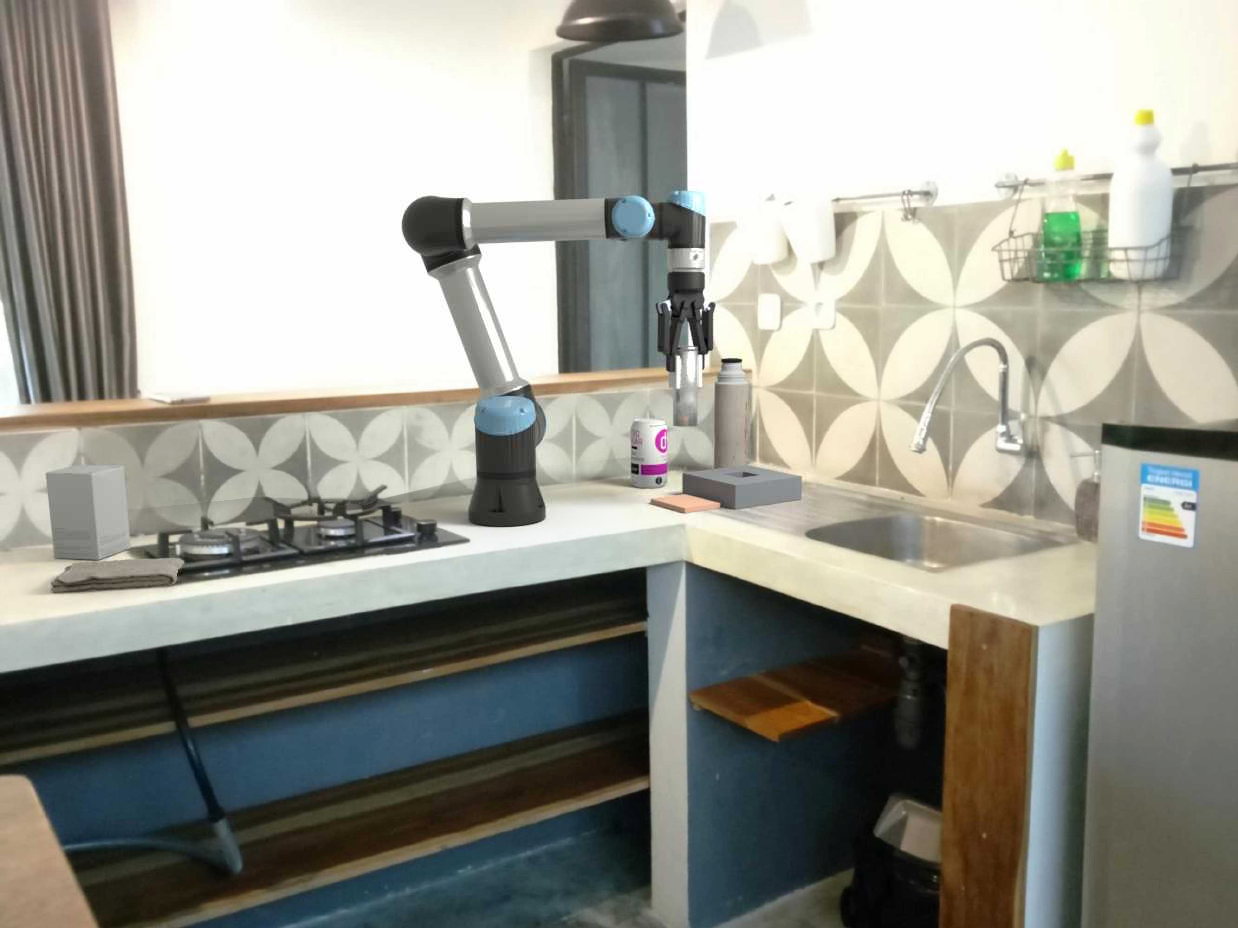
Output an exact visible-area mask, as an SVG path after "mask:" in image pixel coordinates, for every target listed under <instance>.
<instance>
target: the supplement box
mask: <svg viewBox="0 0 1238 928" xmlns="http://www.w3.org/2000/svg"><path fill="white" fill-rule="evenodd" d="M125 479H126V477H125V466H124V465H111V464H110V465H109V464H108V465H107V464H104V465H102V464H100V465H99V464H76V465H75V464H74V465H72V466H71V465H70V466H67V467H64V468H59V469H55V470H50V471H47V472H45V480H46V488H47V489H46V491H47V498H48V508H49V518H50V528H51V538H52V549H53V557H54V559H61V560H62V559H63V560H64V559H67V560H88V561H89V560H90V561H91V560H92V561H101V560H102V559H104V558H108V557H110V556H114V555H116V554H119V553H121V552H124V551H127V550H130V549H131V548H132V546H131V545H132V544H131V535H130V523H129V513H128V512H129V511H128V500H127V488H126V480H125Z"/></svg>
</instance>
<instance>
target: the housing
mask: <svg viewBox="0 0 1238 928" xmlns="http://www.w3.org/2000/svg"><path fill="white" fill-rule="evenodd" d="M681 474H682V479H681V480H682V481H681V482H682V483H681V484H682V488H681V489H682V492H681V493H682V494H687V495H691V496H695V497H698V498H702V499H706V500H710V501H714V502H718V503H720V507H725V508H728V509H732V510H741V509H748V508H749V509H750V508H754V507H760V506H767V505H774V504H779V503H780V504H781V503H787V502H788V503H789V502H794V501H801V500H802V489H803V488H802V486H803V485H802V483H803V476H802V475H797V474H792V473H787V472H783V471H778V470H774V469H768V468H763V467H758V466H754V465H750V464H748V465H742V466H734V467H726V468H718V469H714V468H713V469H712V468H711V469H704V470H695V471H689V472H687V471H686V472H682V473H681ZM682 494H681V495H682Z"/></svg>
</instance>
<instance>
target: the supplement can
mask: <svg viewBox="0 0 1238 928" xmlns="http://www.w3.org/2000/svg"><path fill="white" fill-rule="evenodd" d="M632 421H633V422H632V423H631V425H630V484H632V485H633V487H634V488H637V489H639V488H640V489H660V488H663V487H665V486H666V485H667V483H668V426H667V424H666V421H665V419H663V418H651V417H649V418H648V417H646V418H636V419H633V420H632Z"/></svg>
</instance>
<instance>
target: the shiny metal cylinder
mask: <svg viewBox="0 0 1238 928" xmlns="http://www.w3.org/2000/svg"><path fill="white" fill-rule="evenodd" d="M675 356H680V388H679V389H676V388H672V426H674V427H681V428H682V427H683V428H684V427H685V428H687V427H688V428H692V427H696V426H698V419H699V418H698V415H699V413H698V409H699V406H698V404H699V403H698V401H699V400H698V399H699V398H698V396H699V392H698V391H699V390H698V388H699V387H698V346H693V345H678V349H677V353H676V355H675Z"/></svg>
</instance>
